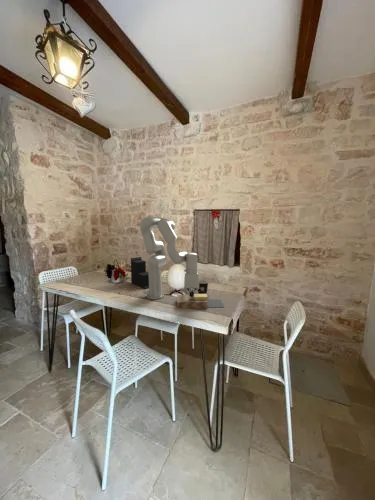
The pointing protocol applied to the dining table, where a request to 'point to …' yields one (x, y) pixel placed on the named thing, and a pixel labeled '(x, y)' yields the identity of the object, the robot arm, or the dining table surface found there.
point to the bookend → (139, 273)
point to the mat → (215, 303)
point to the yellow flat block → (200, 296)
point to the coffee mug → (202, 287)
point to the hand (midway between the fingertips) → (191, 297)
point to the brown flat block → (190, 302)
